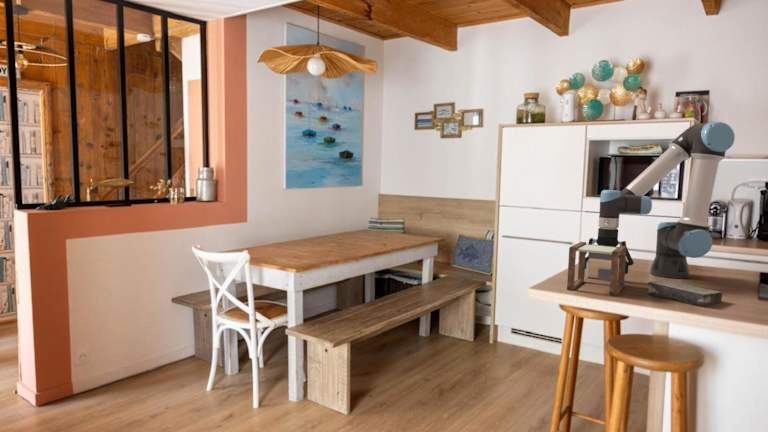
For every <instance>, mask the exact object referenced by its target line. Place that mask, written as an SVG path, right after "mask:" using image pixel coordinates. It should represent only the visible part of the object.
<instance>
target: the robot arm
mask: <svg viewBox="0 0 768 432" xmlns="http://www.w3.org/2000/svg"><path fill="white" fill-rule="evenodd" d="M735 136H736V135H735V132H734V130H733V128H732V127H731V126H730V125H729V124H727V123H725V122H722V121H710V122H705V123H697V124H694V125H692V126H690V127H688V128H687V129H684V131H683V132H682V133H680V134H679V135H678V136H677V137H675V139H673V141H672V142H670V144H668V149H666V150H665V151H664V152H663V153H662V154H661V155H660V156H659V157H658V158H657V159H655V160H654V161H653V162H652V163H651V164H650V165H649V166H647V168H645V169H644V170H643V171H642V172H641V173H640V174H638V176H637V177H636V178H634V179H633V180H632V181H631V182H630V183H629V184H628V185H627V186H626V187H624V188H623V189H622V190H621V191H620V190H618V189H617V190H615V189H614V190H613V189H603V190H602V191H601V192H600V198H599V214H598V216H599V217H598V229H597V239H596V238H594V237H590V238H589V239H588V244H591V245H595V243H596V245H602V246H613V247H618V245H619V246H621V245H622V246H627V241H626V240H623V241H619V240H618V239H619V229H618V228H619V225H620V215H639V216H641V215H648V214H650V213H651V211H652V209H653V202H652V199H651V197H650V196H646V194H647V193H649V191H651V190H652V189H653V188H654V187H655V186H656V185H657V184H658V183H660V182H661V181H662V180H663V179H664V178H665V177H666V176H667V175H669V174H670V173H671V172H672V171H673V170H674V169H675V168H677V166H678V165H680V164H681V163H682V162H683V161H688V160H689V159H690V158H691V157H692V158H693V164H692V167H691V172H690V177H689V183H688V186H687V187H688V188H687V192H686V197H685V202H684V207H683V212H682V217H681V218H680V219H678V220H677V221H662V222H659V223H658V225H657V229H656V232H657V233H656V246H655V247H656V248H655V257H654V260H653V261H652V263H651V266H650V270H649V273H650V274H651V275H654V276H658V277H663V278H669V279H688V278H690V275H691V271H690V267H689V263H688V260H687V258H691V259H692V258H693V259H694V258H695V259H697V258H701V257H704V256H705V255H707V254H708V253H709V252H710V251H711V250H712V246H713V237H712V236H711V234H710V228H711V226H710V225H709V223H708V222H707V220H708V216H709V212H710V206H711V202H712V197H713V192H714V188H715V187H714V186H715V183H716V178H717V173H718V168H719V163H720V161H722V160H724V159H725V156H726V152H727V150H729V149H730V148H731V147H732V146H733V145H734V142H735V139H736V138H735ZM586 255H587V256H585V278H587V279H588V278H589V277H590V266H591V261H590V259H591V258H588V252H586ZM634 264H635V263H634V260H633V258H632V256H631V253H630V252H629V249H628V247H626V263H625V275H627V274H629V267H631V266H633V265H634ZM625 279H626V278H624V281H626V280H625Z"/></svg>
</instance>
